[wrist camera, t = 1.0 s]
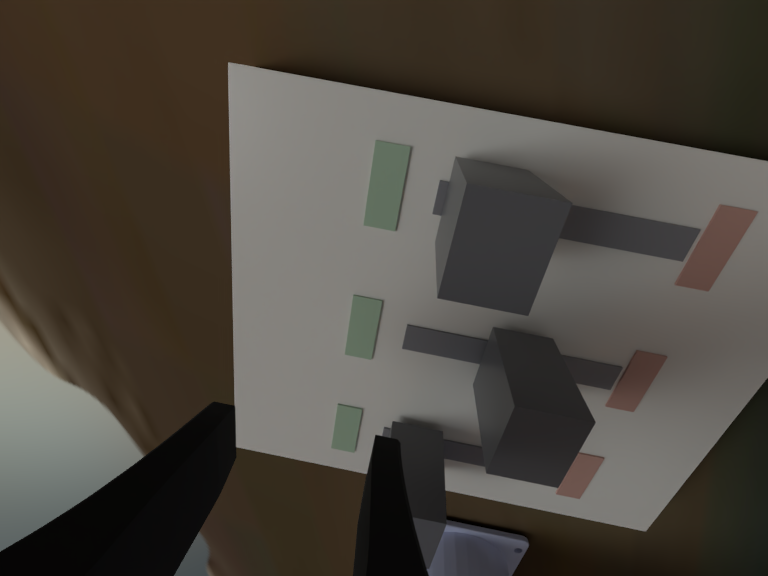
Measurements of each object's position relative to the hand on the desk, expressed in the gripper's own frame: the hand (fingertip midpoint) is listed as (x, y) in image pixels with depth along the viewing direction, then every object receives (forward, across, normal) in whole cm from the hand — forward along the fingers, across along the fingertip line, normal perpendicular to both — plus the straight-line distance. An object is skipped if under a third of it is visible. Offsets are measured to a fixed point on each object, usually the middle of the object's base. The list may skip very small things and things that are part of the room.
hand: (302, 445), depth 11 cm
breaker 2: (+6, -4, -6) cm, 10 cm away
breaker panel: (+8, -6, 0) cm, 10 cm away
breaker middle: (+6, -7, 0) cm, 9 cm away
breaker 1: (+6, -4, +6) cm, 10 cm away
